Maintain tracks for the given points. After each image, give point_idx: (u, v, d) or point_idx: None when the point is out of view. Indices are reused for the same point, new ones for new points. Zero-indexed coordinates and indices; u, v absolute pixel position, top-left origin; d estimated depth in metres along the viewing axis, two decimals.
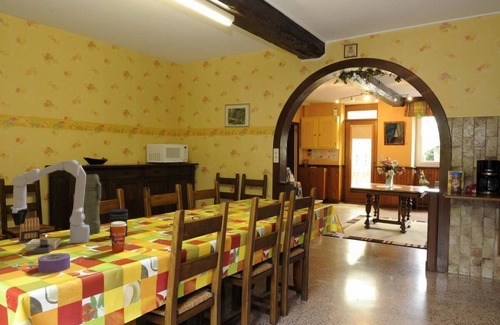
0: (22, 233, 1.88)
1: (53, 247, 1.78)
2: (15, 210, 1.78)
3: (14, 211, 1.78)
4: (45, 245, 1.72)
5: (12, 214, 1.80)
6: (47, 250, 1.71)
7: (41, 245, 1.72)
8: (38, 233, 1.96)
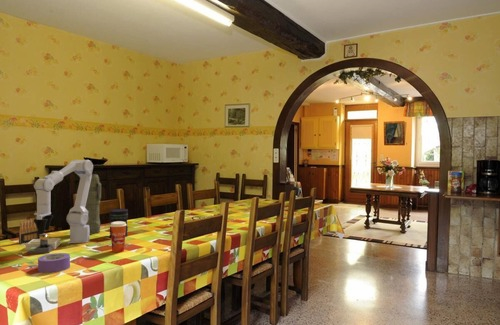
0: (22, 235, 1.87)
1: (53, 247, 1.78)
2: (40, 216, 1.66)
3: (39, 218, 1.66)
4: (45, 245, 1.72)
5: (36, 221, 1.67)
6: (47, 250, 1.71)
7: (41, 245, 1.72)
8: (38, 234, 1.95)
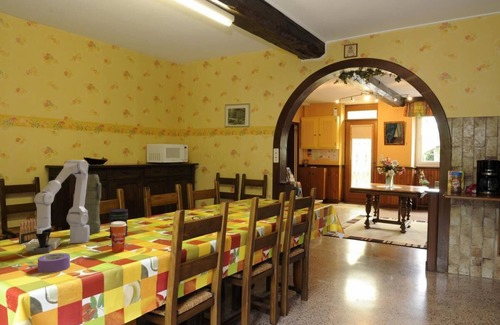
0: (22, 235, 1.87)
1: (53, 247, 1.78)
2: (40, 231, 1.66)
3: (39, 232, 1.66)
4: (45, 245, 1.72)
5: (37, 234, 1.69)
6: (47, 250, 1.71)
7: None
8: None
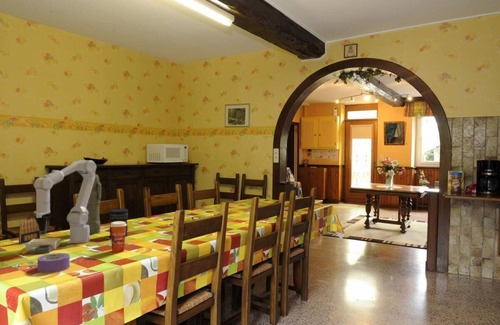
0: (22, 235, 1.87)
1: (53, 247, 1.78)
2: (39, 215, 1.69)
3: (39, 216, 1.69)
4: None
5: (37, 219, 1.71)
6: (47, 250, 1.71)
7: None
8: (38, 234, 1.95)
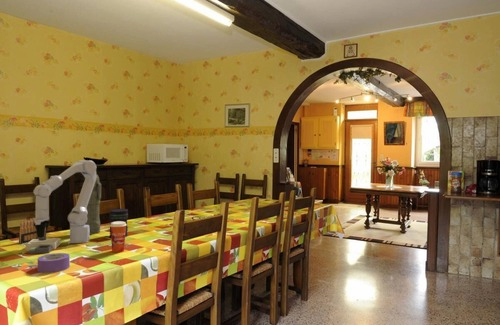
0: (22, 235, 1.87)
1: (53, 247, 1.78)
2: (38, 222, 1.72)
3: (37, 223, 1.72)
4: None
5: (36, 225, 1.75)
6: (47, 250, 1.71)
7: None
8: None
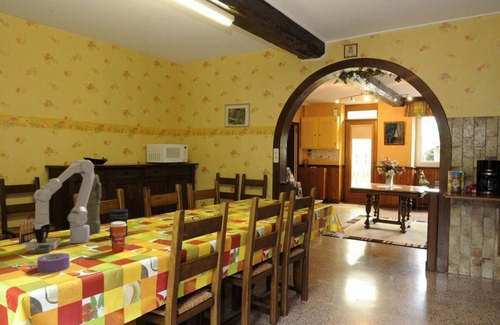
0: (22, 235, 1.87)
1: (53, 247, 1.78)
2: (38, 226, 1.72)
3: (37, 228, 1.72)
4: (43, 242, 1.78)
5: (34, 231, 1.73)
6: (47, 250, 1.71)
7: None
8: None
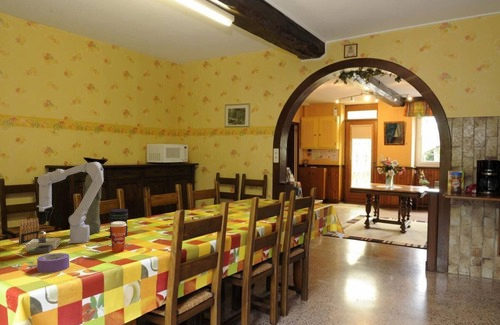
0: (22, 235, 1.87)
1: (53, 247, 1.78)
2: (42, 208, 1.83)
3: (41, 210, 1.83)
4: (43, 242, 1.78)
5: (38, 213, 1.84)
6: (47, 250, 1.71)
7: (39, 242, 1.77)
8: None
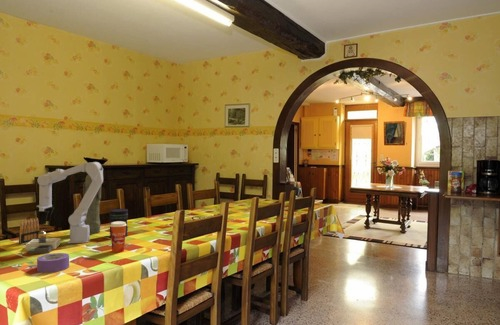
0: (22, 235, 1.87)
1: (53, 247, 1.78)
2: (42, 208, 1.84)
3: (41, 210, 1.84)
4: (43, 242, 1.78)
5: (38, 212, 1.85)
6: (47, 250, 1.71)
7: (39, 242, 1.78)
8: None
